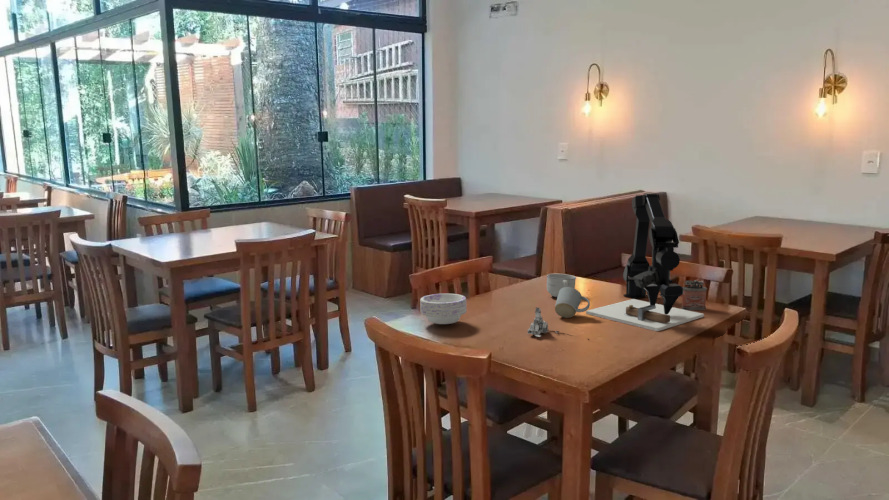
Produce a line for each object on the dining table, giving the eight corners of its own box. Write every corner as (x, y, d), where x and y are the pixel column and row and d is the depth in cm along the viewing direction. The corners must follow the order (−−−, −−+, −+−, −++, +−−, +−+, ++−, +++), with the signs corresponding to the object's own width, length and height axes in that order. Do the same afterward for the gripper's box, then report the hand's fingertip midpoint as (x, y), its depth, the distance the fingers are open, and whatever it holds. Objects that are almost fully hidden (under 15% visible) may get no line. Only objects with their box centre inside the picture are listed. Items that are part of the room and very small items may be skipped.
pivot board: (586, 313, 228) (586, 310, 228) (632, 301, 244) (633, 298, 244) (657, 331, 207) (657, 327, 206) (703, 316, 222) (703, 313, 222)
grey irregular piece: (552, 338, 202) (552, 313, 201) (525, 335, 206) (525, 310, 205) (561, 331, 210) (562, 307, 209) (535, 327, 214) (535, 304, 213)
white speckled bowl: (433, 313, 232) (433, 290, 231) (473, 317, 226) (473, 294, 224) (412, 324, 219) (411, 300, 217) (454, 329, 212) (454, 305, 211)
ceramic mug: (561, 321, 225) (548, 305, 222) (567, 304, 230) (555, 288, 228) (588, 315, 218) (575, 298, 215) (593, 297, 224) (581, 281, 221)
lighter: (704, 307, 234) (705, 279, 233) (707, 310, 231) (708, 281, 229) (680, 307, 235) (681, 279, 233) (682, 309, 232) (684, 281, 230)
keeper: (637, 319, 216) (638, 308, 216) (651, 315, 221) (651, 304, 220) (641, 320, 215) (642, 309, 214) (655, 316, 220) (656, 305, 219)
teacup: (546, 292, 260) (546, 272, 259) (574, 293, 259) (575, 272, 257) (546, 301, 247) (547, 279, 245) (576, 301, 245) (577, 280, 244)
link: (623, 313, 223) (624, 305, 222) (629, 311, 224) (630, 303, 224) (664, 323, 210) (665, 314, 210) (670, 321, 212) (671, 312, 212)
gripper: (624, 259, 223) (623, 305, 226) (651, 270, 205) (649, 319, 208) (655, 257, 225) (654, 303, 228) (685, 268, 207) (683, 317, 210)
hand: (659, 310), depth 218 cm, fingers open, 9 cm apart
